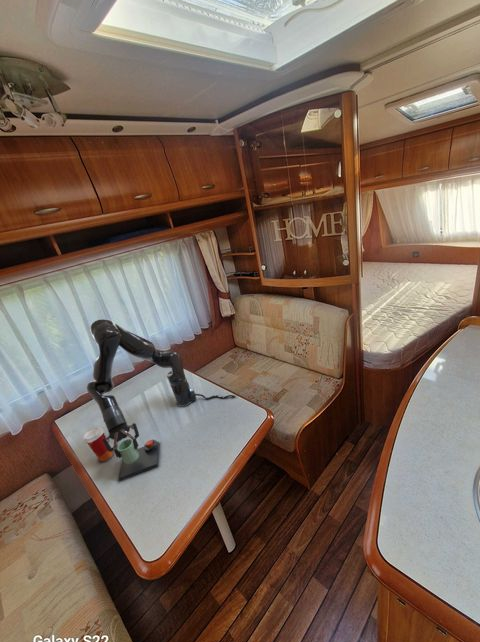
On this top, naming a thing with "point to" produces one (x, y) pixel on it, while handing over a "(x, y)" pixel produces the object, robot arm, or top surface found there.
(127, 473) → the scale
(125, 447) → the tumbler
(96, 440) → the coffee cup
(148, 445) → the tare button
